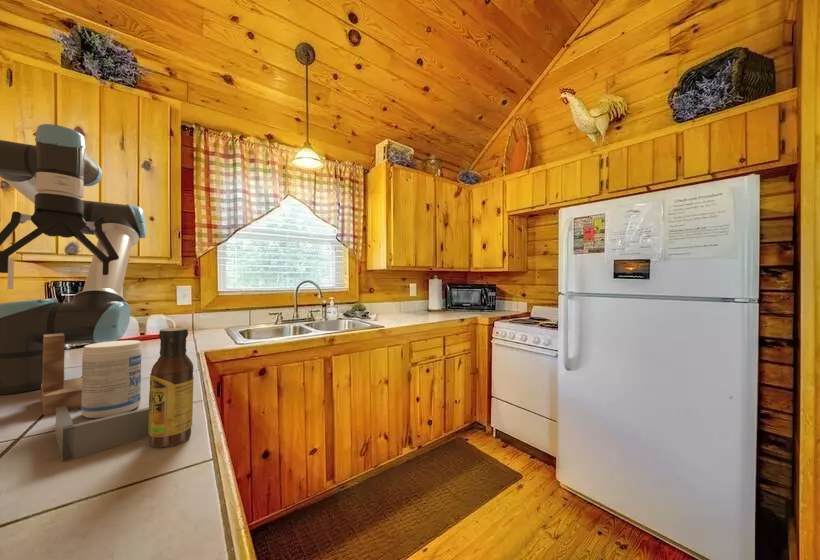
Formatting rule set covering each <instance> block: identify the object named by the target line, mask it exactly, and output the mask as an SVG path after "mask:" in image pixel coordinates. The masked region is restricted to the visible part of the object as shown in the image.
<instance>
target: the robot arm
mask: <svg viewBox="0 0 820 560" xmlns="http://www.w3.org/2000/svg"><path fill="white" fill-rule="evenodd" d="M34 141H35V145H34V144H29V143H21V142H15V141H10V140H9V141H8V140H4V139H0V178H1V179H3V180H4V181H5V182H6V183H8V185H10V186H11V187H13V188H14V189H15V190H17V192H19V193H20V194H21V195H23V196H24V197H25V198H26V199H27V200H29V201H30V202H31V203H33V204H34V209H33V210H34V211H33V214H31V215H30V214H25V213H21V212H20V211H12V213H11V217H10V221H9V222H8V224H6V225H5V227H4V228H3V229H2V230H1V231H0V247H1V245H3V243H5V241H6V240H8V238H9V237H10V236H11V235H12V233H13V232H14V231H15V230H16V229H17V228H18V226H19V224H25V223H26V222H27V221H31V222H32V223H33V225H35V227H37V228H36V229H34V230H32V231H31V232H29V233H28V234H26V235H24V236H23V237H22V238H20V239H19V240H17V241H16V242H14V243H13V244H11V245H10V246H8V247H6V248H5V249H3V250H0V274H7V283H6V284H7V286H6V287H7V288H6V289H7V290H14V275H15V272H14V271H15V267H14V266H15V265H14V264H15V258H14V257H10V256H11V255H13V254H15V252H17V251H18V250H20V249H22V248H23V247H24V246H26V245H28V244H29V243H30V242H32V241H34V240H35V239H36V238H37V237H40V236H41V235H42V234H44V235H45V236H47V237H61V238H66V239H68V238H72V237H74V238H75V239H76V240H77V241H78V242H80V243H81V244H82V245H83V246H84V247H85V248H86V249H88V251H90V252H91V253H92V254H93V256H92V259H91V262H90V266H89V269H88V272H87V276H86V279H85V282H84V285H83V287H82V288H83V289H82V290H81V291H79V292H76V293H75V294H74V295H73V297H72V300H71V302H62V303H61V302H59V300H58V298H56V297H53V298H42V299H31V300H20V301H12V302H11V301H10V302H1V303H0V396H1V395H10V394H11V395H13V394H18V393H24V392H29V391H31V392H32V391H34V390H41V384H42V371H43V335H46V334H59V333H63V334H64V335H65V346H66V345H78V344H79V345H81V344H82V345H84V344H95V343H101V342H111V341H119V340H120V339H121V338H122V337H123V336H124V335H125V334H126V331H127V330H128V327H129V324H130V320H131V318H130V317H131V315H132V314H131V306H130V303H127V302H126V300H125V298H124V297H123V296H122V290H123V286H124V282H125V278H126V274H127V269H128V264H129V259H130V255H131V250H132V248H133V247H132V246H135V245H136V244H137V243H138V242H139V240H140V239H146V238H147V224H146V223H147V222H146V218H145V212H144V210H143V208H142V207H140V206H138V205H131V204H121V203H120V204H119V203H111V202H101V201H92V200H83V199H82V198H84V193H85V192H84V191H85V190H84V187H92V186H95V185H97V184H98V183H100V182H101V180H102V178H103V171H102V169H101V167H100V166H99V164H98V162H97V161H96V160H95V159H94V158H91V156H90V155H88V153H86V150H85V149H86V148H87V146H86V144H85V142H86V141H85V136H84V135H83V134H82V133H80V132H79V131H77V130H74V129H72V128H69V127H66V126H62V125H58V124H51V123H43V124H42V123H41V124H39V125H38V126H37V128H36V134H35V138H34ZM86 235H91V236H92V235H93V236H95V237H96V238H97V243H96V244H94V242H92V241H91V240H90V239H89V238H88V237H87V236H86Z"/></svg>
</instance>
